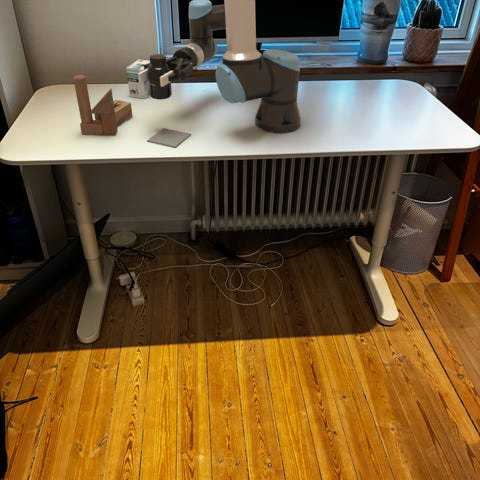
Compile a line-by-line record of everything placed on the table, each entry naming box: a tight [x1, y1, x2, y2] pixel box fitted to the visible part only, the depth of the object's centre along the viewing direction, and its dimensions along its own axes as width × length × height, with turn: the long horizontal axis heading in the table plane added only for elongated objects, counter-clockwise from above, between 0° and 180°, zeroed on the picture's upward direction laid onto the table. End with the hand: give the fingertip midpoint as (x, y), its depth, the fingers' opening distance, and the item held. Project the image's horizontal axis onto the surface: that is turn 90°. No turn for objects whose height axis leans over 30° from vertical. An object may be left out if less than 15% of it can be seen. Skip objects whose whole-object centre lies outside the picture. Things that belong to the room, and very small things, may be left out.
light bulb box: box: [125, 59, 151, 100], centre depth 184 cm, size 11×7×11 cm, turn 164°
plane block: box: [94, 99, 134, 128], centre depth 164 cm, size 6×12×8 cm, turn 157°
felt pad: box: [146, 127, 192, 149], centre depth 157 cm, size 10×10×1 cm
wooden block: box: [72, 74, 118, 136], centre depth 154 cm, size 4×11×18 cm, turn 87°
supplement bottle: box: [147, 53, 173, 101], centre depth 151 cm, size 7×7×12 cm
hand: (150, 80), depth 147 cm, fingers closed on supplement bottle, 7 cm apart
